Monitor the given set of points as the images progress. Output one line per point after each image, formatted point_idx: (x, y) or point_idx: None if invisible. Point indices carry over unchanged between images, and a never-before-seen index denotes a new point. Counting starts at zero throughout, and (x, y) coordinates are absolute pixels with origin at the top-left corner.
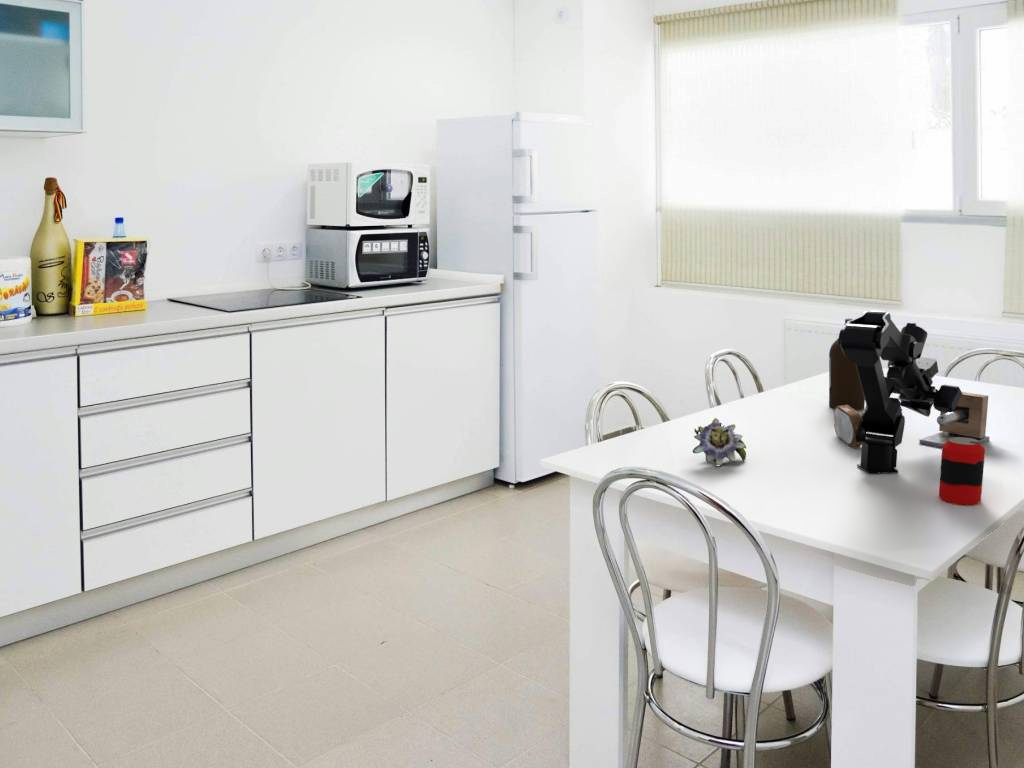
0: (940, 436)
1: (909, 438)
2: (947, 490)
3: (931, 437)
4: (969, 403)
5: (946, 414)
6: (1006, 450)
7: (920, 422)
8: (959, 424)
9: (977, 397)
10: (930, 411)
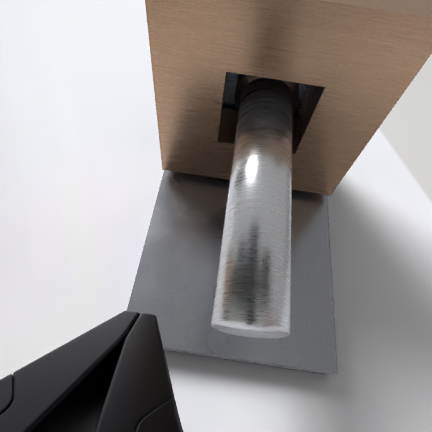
0: (186, 225)
1: (61, 274)
2: None
3: (159, 265)
4: (331, 63)
5: (264, 259)
6: (426, 235)
7: (62, 55)
8: None
9: (407, 22)
10: (158, 329)
